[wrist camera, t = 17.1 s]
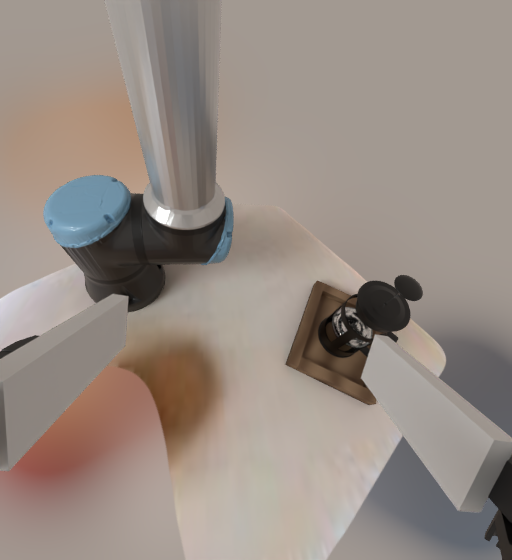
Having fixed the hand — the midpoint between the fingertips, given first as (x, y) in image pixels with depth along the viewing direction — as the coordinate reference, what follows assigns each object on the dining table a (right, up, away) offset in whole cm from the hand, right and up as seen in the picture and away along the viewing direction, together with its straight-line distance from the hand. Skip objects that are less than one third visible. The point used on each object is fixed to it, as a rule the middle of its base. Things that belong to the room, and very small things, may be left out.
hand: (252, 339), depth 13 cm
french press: (+19, -10, +42) cm, 47 cm away
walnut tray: (+18, -10, +42) cm, 47 cm away
